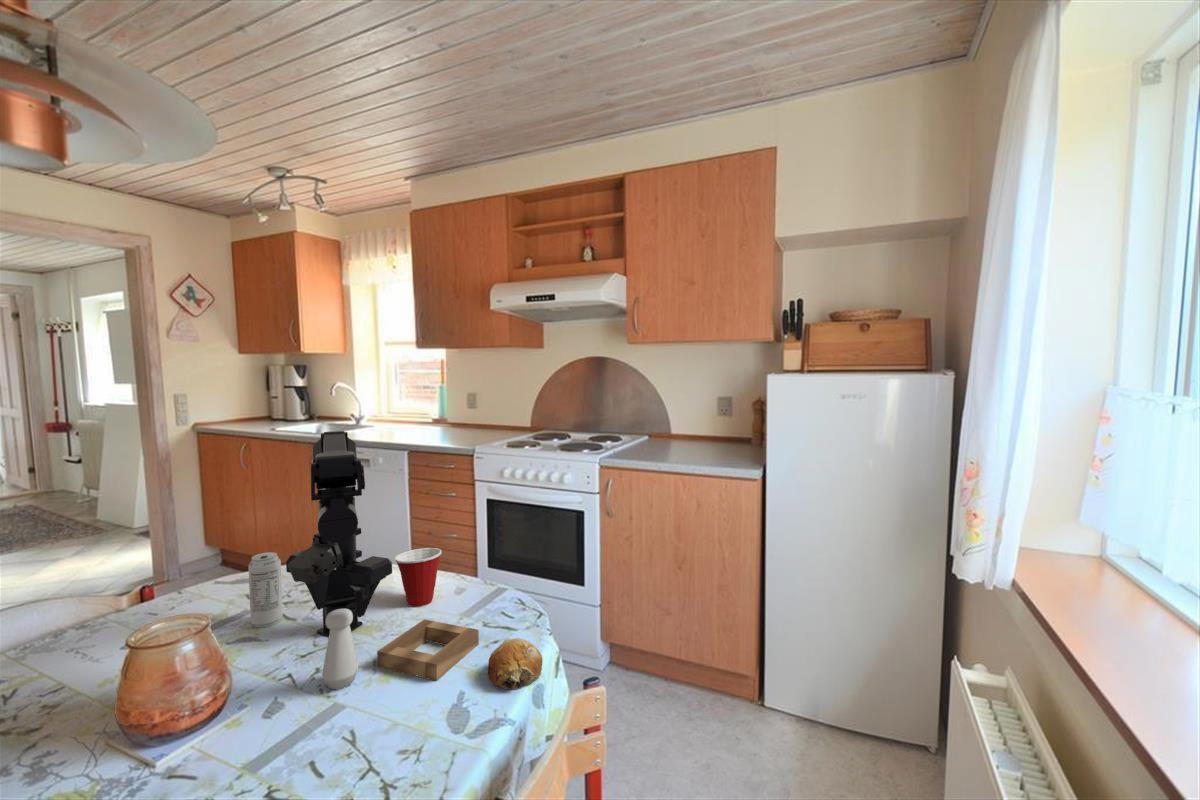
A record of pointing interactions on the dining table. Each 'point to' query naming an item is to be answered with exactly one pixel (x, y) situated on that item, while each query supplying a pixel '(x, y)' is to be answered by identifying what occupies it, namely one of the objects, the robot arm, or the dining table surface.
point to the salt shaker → (340, 651)
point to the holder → (423, 664)
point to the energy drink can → (265, 589)
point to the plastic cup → (419, 574)
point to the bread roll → (514, 664)
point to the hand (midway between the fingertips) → (340, 612)
